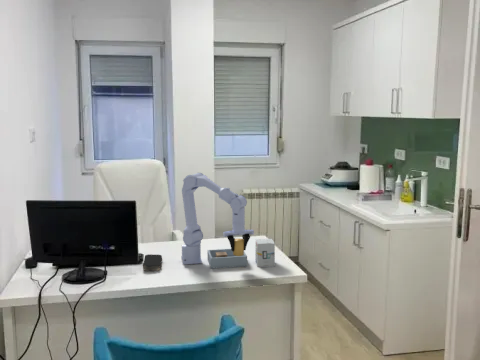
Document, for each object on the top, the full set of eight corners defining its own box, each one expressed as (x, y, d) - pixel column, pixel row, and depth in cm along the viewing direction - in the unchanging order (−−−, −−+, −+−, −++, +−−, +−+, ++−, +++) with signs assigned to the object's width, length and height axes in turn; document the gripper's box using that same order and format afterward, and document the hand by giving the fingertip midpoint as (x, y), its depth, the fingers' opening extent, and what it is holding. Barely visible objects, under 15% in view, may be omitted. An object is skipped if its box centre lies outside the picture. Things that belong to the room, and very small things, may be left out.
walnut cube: (217, 265, 234) (216, 255, 233) (215, 262, 239) (215, 252, 238) (227, 264, 235) (227, 254, 234) (225, 261, 240) (225, 251, 239)
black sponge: (145, 261, 243) (145, 254, 243) (162, 260, 244) (162, 253, 243) (142, 272, 227) (141, 265, 227) (160, 272, 228) (160, 264, 227)
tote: (210, 268, 232) (210, 258, 231) (207, 259, 245) (207, 249, 244) (247, 266, 235) (247, 256, 234) (242, 257, 248) (242, 248, 247)
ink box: (255, 261, 242) (255, 238, 240) (272, 261, 243) (272, 238, 241) (257, 267, 234) (257, 243, 232) (274, 266, 234) (275, 243, 233)
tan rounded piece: (235, 256, 226) (235, 241, 225) (231, 253, 231) (231, 239, 230) (245, 255, 228) (245, 240, 227) (241, 252, 233) (241, 238, 231)
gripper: (225, 225, 221) (226, 254, 223) (256, 222, 225) (255, 251, 228) (221, 221, 228) (221, 249, 230) (251, 219, 232) (250, 247, 234)
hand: (238, 250), depth 229 cm, fingers closed on tan rounded piece, 5 cm apart
